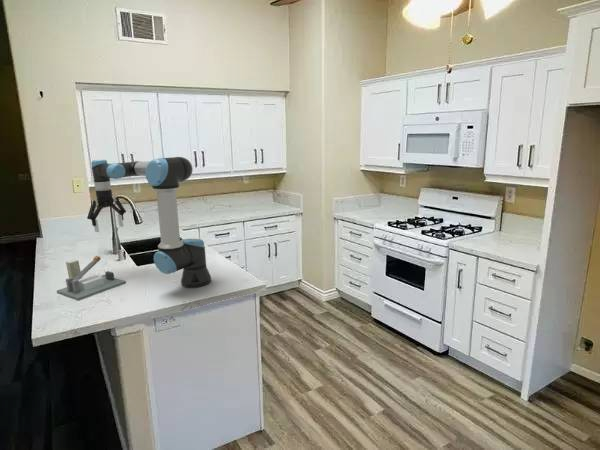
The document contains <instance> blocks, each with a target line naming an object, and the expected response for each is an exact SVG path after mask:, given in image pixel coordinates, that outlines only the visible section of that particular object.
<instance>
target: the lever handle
mask: <svg viewBox="0 0 600 450" xmlns="http://www.w3.org/2000/svg"><path fill="white" fill-rule="evenodd" d="M101 259H102V258H101V257H100V256H99V255H95V256H93V260H92V261H91V262H89V263H88V264H87V265H86V266H85V267H84V268H83V269H82V270H80V271H81V272H80V273H79V274H78V275H77V276H76V277H75V278H73V279H72V281H73V280H79V279H80V278H84V276H85V275H86V274H87V273H88V272H89V271H90V270H91V269H92V268H93V267H94V266H96V264H97V263H99V261H101Z"/></svg>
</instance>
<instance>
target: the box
mask: <svg viewBox="0 0 600 450" xmlns="http://www.w3.org/2000/svg"><path fill="white" fill-rule="evenodd" d="M65 264H66V265H65V266H66V269H67V274H68V278H72V279H73V278H75V277H76V276H77V275H78V274H79V273H80V272H81V271H82V270H81V267H80V262H79V259H71V260H67V261H65ZM80 279H81V278H80Z"/></svg>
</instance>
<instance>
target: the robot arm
mask: <svg viewBox="0 0 600 450" xmlns="http://www.w3.org/2000/svg"><path fill="white" fill-rule="evenodd" d="M91 170H92V171H91V172H92V178H93V184H94V189H95V196H96V200H90V204H91V205H90V207H89V211H88V215H87V217H86V219H87V220H90V221H91V224H92V226H93V228H94V232H95V233H100V227H99V221H98V219H97V217H98V215H99V214H100V212H101V210H103V208H104V209H105V208H109V207H110V208H112V210H114V211H115V212H116V213H118V214H117V219H118V227H122V228H123V227H124V219H125V218H124V215H125V213H126V212H127V210H126V209H125V208H124V206H123V204H122V203H121V202H120V199H119V196H114V197H113V192H112V191H113V190H112V185H111V180H112V179H114V180H118V179H123V178H129V177H145V180H146V181H147V183H148V184H149V185H151V186H152V190H153V191H155V193H156V201H157V212H158V225H159V233H160V243H159V244H158V245H157V251H156V252H155V253H154V254H153V263H154V265H155V267H156V268H157V270H159V272H160V273H162V274H164V275H165V274H166V275H168V274H169V275H170V274H174V273H177V272H178V271H180V270H182V275H181V279H180V285H181V286H182V287H184V288H191V289H192V288H193V289H194V288H200V287H204V286H206V285H209V284H210V283H211V282H212V277H211V274H210V272H209V270H208V267H207V259H206V247H205V242H204V240H203V239H200V238H183V239H180V236H181V235H180V227H179V225H180V224H179V222H180V221H179V212H178V211H179V210H178V200H177V191H178V190H179V189H180V183H181V182H185V181H187V180H188V179H189V178H190V177H191V176H192V174H193V170H194V169H193V165H192V163H191V162H190V160H189V159H187V158H185V157H183V156H174V157H173V156H172V157H158V158H154V159H151V160H150V161H145V160H144V161H139V160H134V161H127V162H118V163H117V162H114V163H113V162H112V163H108V161H107V160H106V159H94V160H92V161H91ZM113 202H114V203H115V204H116V205H115V204H114V203H113ZM97 204H98V205H97Z"/></svg>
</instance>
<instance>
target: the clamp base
mask: <svg viewBox="0 0 600 450" xmlns="http://www.w3.org/2000/svg"><path fill="white" fill-rule="evenodd" d="M114 275H115V274H114V272H112V271H108V270H107V271H105V272H104V274H103V275H96V274H91V275H87V276H85V277H84V276H83V277H82V278H81V279H79V280H73V281H72V278H69V277H68V278H65V281H66V282H65V283H66V287H63V288H60V289H58V290H56V293H57V294H59V295H62V296H65V297H68V298H70V299H73V300H76V301H81V300H84V299H87V298H89V297H90V298H91V297H92V296H94V295H98V294H100V293H103V292H106V291H108V290H111V289H114V288H117V287H120V286H122V285H125V284H126V283H127V281H126V280H123V279H120V278H116V277H115V276H114Z"/></svg>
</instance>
